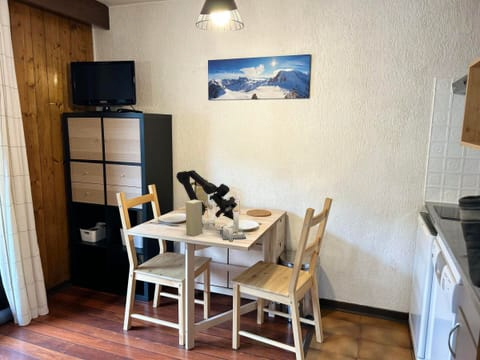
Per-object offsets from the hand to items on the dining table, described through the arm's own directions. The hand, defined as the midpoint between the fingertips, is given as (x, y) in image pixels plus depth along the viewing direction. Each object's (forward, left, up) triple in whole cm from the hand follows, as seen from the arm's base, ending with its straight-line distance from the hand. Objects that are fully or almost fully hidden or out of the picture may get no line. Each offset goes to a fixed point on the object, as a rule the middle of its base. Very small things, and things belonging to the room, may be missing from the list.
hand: (234, 220), depth 220 cm
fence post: (+3, -2, -7) cm, 8 cm away
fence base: (+11, -6, -8) cm, 14 cm away
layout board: (+4, -2, -8) cm, 9 cm away
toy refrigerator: (-3, -26, -8) cm, 27 cm away
